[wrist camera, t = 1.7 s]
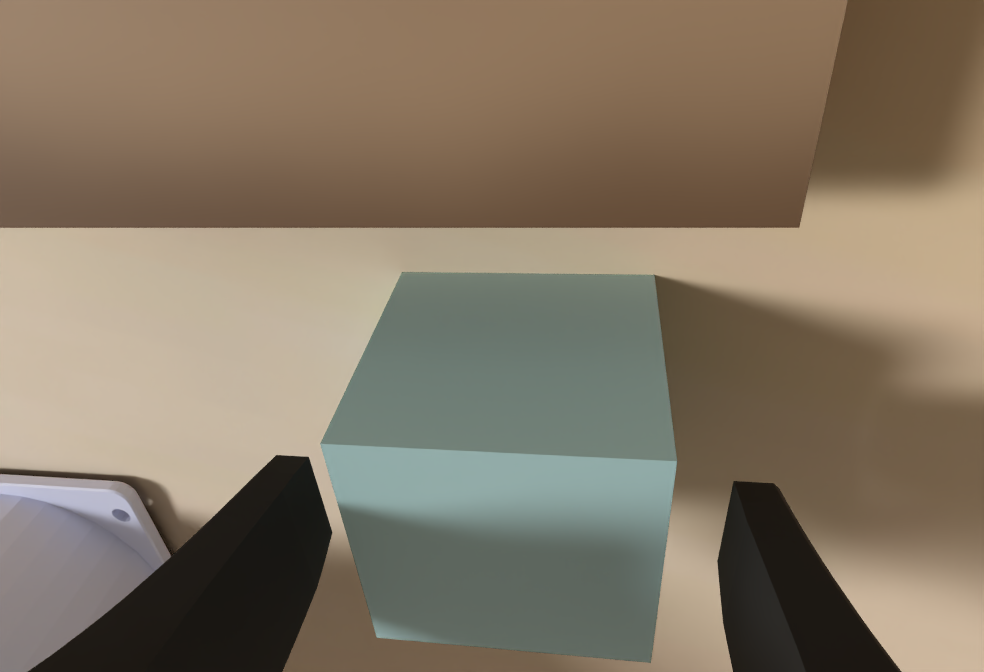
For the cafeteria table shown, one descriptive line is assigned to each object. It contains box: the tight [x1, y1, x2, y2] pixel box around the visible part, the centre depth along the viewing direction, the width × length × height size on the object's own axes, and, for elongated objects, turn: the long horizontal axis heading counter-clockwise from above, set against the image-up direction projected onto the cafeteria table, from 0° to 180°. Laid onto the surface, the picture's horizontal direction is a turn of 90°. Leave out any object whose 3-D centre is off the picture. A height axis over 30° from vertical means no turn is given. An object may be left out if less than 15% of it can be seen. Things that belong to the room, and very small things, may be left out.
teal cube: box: [320, 272, 677, 663], centre depth 13 cm, size 5×5×5 cm
